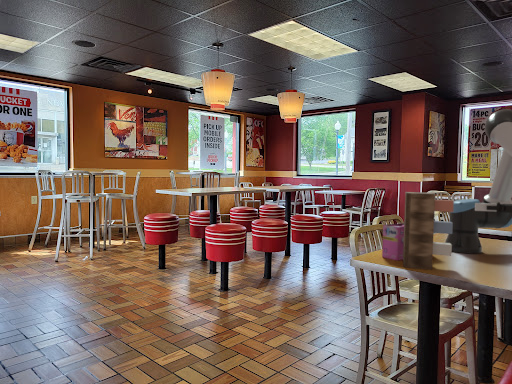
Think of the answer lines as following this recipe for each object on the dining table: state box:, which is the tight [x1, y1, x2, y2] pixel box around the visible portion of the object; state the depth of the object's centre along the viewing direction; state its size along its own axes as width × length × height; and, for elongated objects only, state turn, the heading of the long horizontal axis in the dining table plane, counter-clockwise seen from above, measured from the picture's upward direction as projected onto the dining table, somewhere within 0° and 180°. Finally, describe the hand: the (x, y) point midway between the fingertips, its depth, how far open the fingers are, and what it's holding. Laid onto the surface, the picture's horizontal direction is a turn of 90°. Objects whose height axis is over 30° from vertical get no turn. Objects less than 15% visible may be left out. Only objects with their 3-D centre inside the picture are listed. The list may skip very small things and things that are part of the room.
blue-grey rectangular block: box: [433, 220, 453, 235], centre depth 141 cm, size 9×4×4 cm, turn 71°
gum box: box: [381, 222, 404, 261], centre depth 160 cm, size 24×8×14 cm, turn 121°
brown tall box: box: [402, 191, 436, 271], centre depth 143 cm, size 10×10×27 cm
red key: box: [434, 199, 455, 213], centre depth 141 cm, size 9×4×4 cm, turn 71°
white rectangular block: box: [433, 241, 453, 257], centre depth 141 cm, size 9×4×4 cm, turn 71°
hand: (475, 206), depth 137 cm, fingers closed
